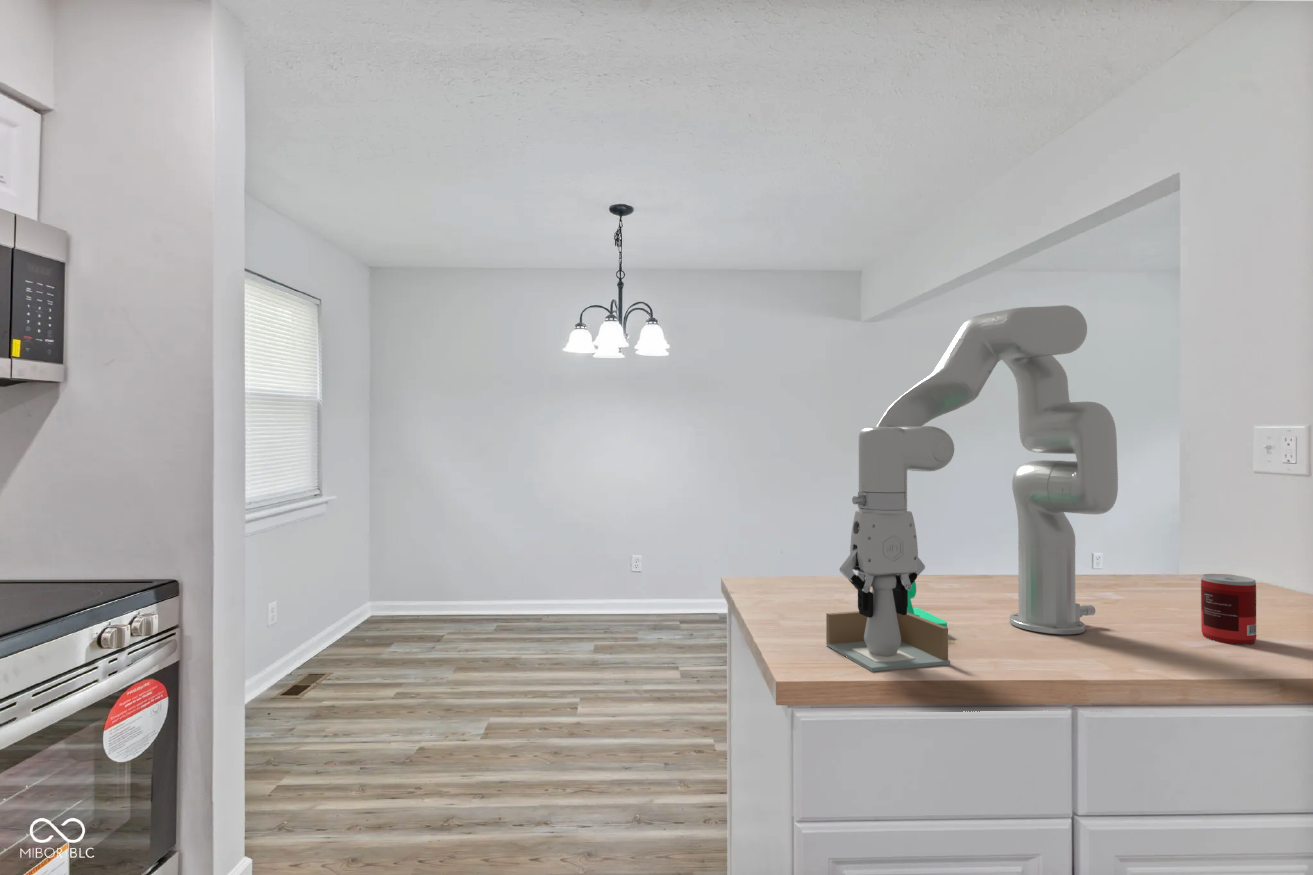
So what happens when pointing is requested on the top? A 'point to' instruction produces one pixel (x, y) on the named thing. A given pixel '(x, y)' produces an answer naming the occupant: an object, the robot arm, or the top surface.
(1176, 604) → the top surface
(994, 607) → the top surface
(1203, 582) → the canned food
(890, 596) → the salt shaker
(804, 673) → the top surface
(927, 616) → the camera mount
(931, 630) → the grey and wooden tray
